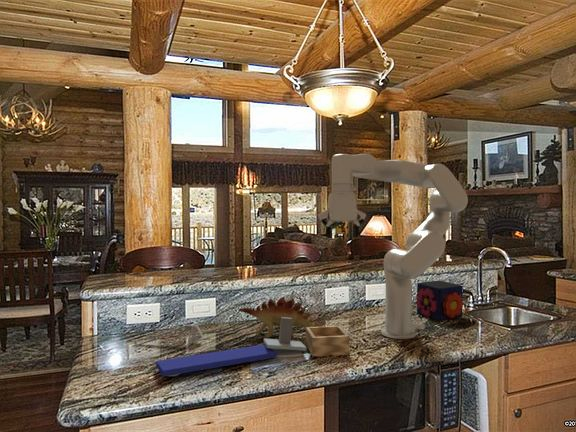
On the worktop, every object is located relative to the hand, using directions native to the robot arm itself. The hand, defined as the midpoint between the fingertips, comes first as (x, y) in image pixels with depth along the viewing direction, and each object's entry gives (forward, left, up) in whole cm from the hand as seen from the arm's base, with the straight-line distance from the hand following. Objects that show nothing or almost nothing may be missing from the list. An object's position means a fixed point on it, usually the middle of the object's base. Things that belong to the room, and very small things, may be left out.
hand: (342, 237), depth 156 cm
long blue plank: (+43, +19, -36) cm, 60 cm away
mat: (+22, +10, -36) cm, 44 cm away
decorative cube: (-50, -25, -37) cm, 67 cm away
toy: (+20, -8, -37) cm, 42 cm away
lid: (+22, +10, -34) cm, 42 cm away
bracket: (+61, -4, -37) cm, 71 cm away
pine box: (+8, +10, -36) cm, 38 cm away
